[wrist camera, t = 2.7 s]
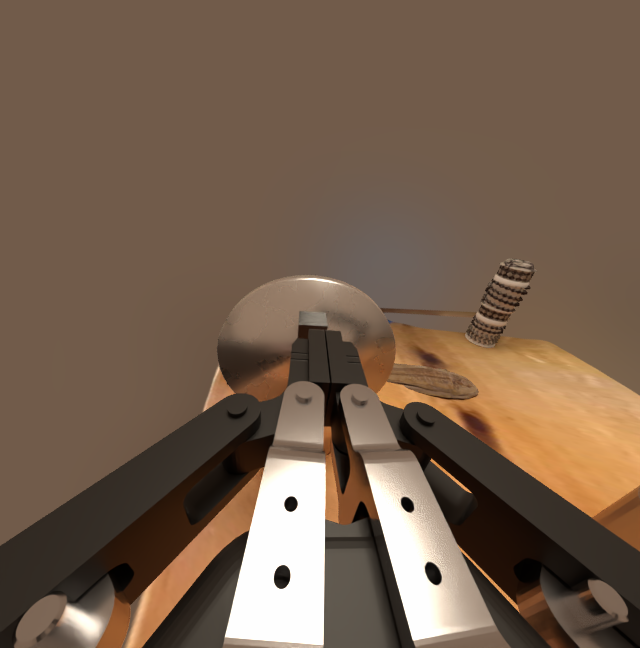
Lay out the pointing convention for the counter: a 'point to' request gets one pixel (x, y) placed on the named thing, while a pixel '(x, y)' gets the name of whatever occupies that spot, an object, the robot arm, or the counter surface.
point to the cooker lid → (300, 332)
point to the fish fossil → (432, 381)
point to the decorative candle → (500, 302)
